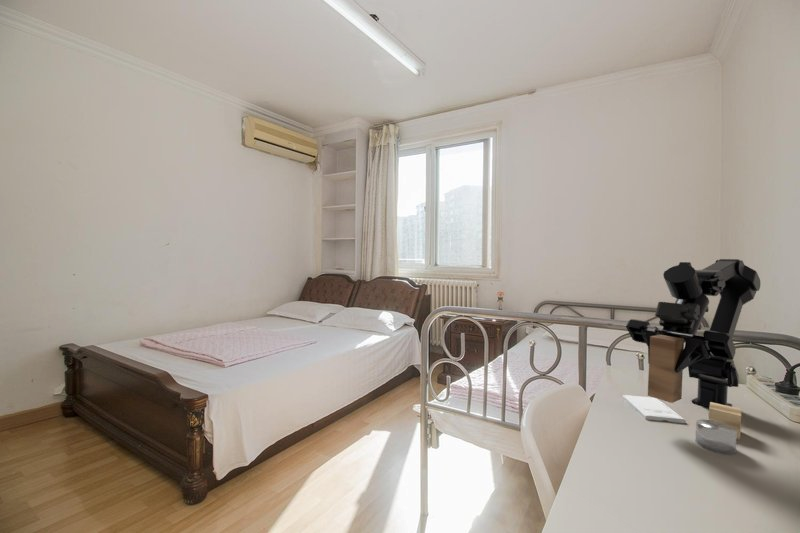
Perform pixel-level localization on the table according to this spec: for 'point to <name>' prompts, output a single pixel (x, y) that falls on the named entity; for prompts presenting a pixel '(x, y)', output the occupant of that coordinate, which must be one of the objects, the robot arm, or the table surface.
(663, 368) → the walnut block
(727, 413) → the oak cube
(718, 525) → the table surface
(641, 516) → the table surface
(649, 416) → the external hard drive
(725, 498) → the table surface
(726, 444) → the grey tin
